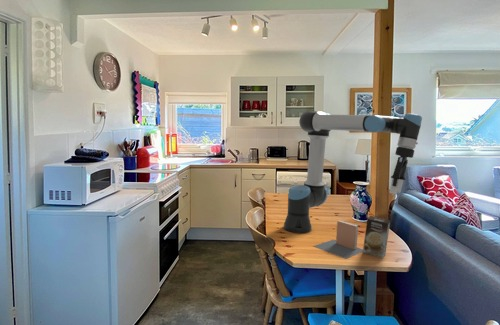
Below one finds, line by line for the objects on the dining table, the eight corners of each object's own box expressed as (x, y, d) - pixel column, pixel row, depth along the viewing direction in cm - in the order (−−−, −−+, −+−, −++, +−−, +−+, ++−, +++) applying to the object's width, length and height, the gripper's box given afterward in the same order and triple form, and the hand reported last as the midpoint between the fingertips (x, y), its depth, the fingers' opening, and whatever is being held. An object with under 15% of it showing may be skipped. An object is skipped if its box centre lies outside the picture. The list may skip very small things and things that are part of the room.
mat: (312, 247, 157) (313, 246, 156) (333, 240, 167) (333, 239, 167) (346, 259, 143) (346, 258, 143) (366, 251, 153) (366, 250, 153)
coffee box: (361, 252, 150) (366, 218, 148) (365, 248, 155) (369, 215, 153) (383, 258, 145) (388, 223, 143) (386, 254, 150) (390, 220, 148)
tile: (336, 243, 162) (337, 221, 160) (338, 242, 163) (339, 220, 162) (354, 249, 154) (355, 226, 153) (356, 248, 155) (358, 225, 154)
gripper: (411, 147, 139) (399, 196, 141) (417, 151, 161) (406, 194, 162) (392, 143, 143) (381, 191, 145) (400, 148, 164) (390, 190, 166)
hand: (394, 193), depth 153 cm, fingers open, 13 cm apart
